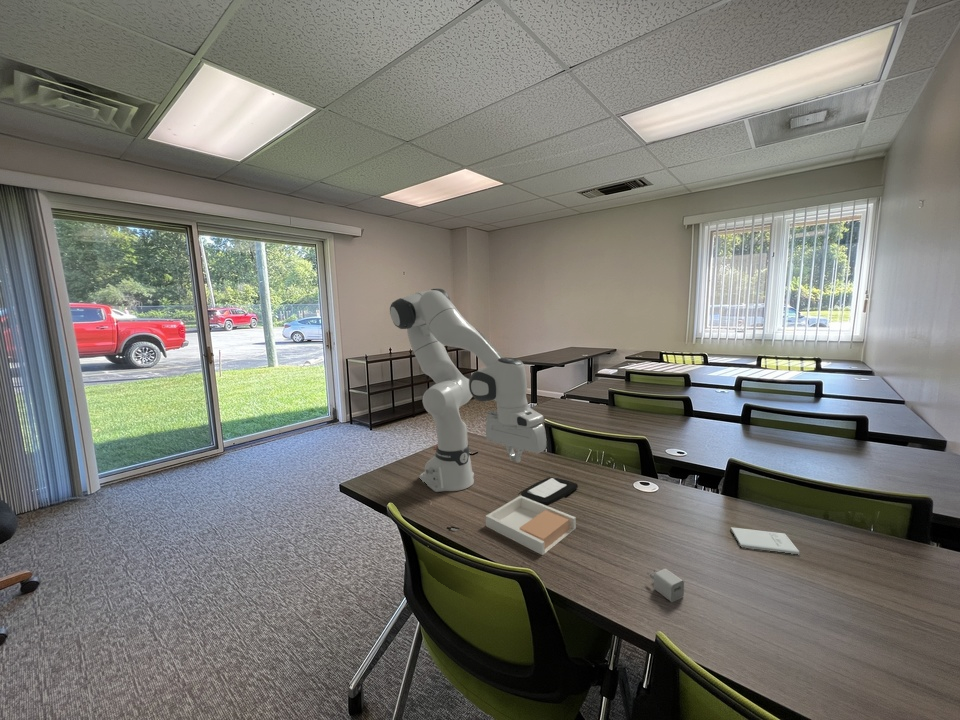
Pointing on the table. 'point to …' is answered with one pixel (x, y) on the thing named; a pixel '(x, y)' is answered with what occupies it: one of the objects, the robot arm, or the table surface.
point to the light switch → (549, 490)
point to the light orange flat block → (546, 527)
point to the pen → (453, 528)
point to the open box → (524, 522)
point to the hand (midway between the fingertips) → (515, 460)
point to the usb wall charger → (668, 584)
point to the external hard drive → (764, 540)
